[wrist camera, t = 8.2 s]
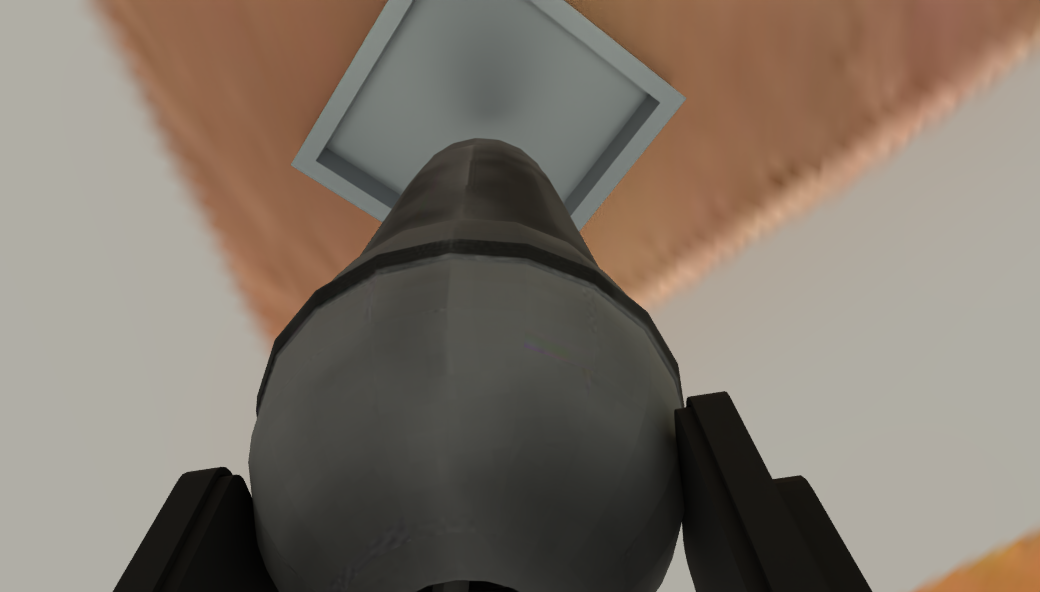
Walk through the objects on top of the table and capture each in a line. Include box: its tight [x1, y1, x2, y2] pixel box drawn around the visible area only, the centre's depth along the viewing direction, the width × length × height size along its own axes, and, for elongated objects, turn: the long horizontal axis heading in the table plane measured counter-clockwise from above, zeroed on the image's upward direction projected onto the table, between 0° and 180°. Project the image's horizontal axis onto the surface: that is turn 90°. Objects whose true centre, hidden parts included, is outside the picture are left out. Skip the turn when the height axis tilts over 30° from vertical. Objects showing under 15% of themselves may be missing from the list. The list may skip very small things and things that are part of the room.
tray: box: [291, 0, 686, 231], centre depth 32 cm, size 12×12×3 cm
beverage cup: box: [248, 138, 685, 592], centre depth 13 cm, size 7×7×20 cm
